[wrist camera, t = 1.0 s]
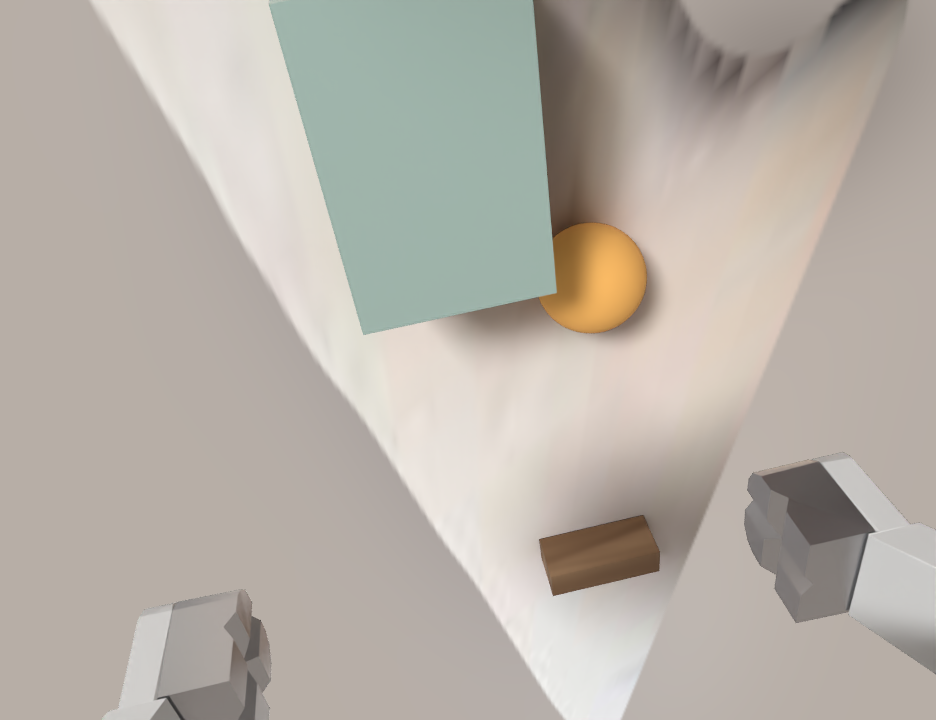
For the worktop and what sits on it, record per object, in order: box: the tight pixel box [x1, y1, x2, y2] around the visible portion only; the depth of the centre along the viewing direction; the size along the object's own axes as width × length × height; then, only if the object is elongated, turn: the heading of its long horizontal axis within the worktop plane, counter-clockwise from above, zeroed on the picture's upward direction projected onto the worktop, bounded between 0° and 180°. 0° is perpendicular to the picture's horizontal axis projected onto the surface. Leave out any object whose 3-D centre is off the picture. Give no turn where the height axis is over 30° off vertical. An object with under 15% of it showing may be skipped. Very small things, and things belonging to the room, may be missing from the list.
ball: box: [539, 223, 647, 333], centre depth 35 cm, size 5×5×5 cm
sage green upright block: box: [269, 0, 557, 335], centre depth 27 cm, size 11×7×9 cm, turn 8°
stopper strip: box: [539, 515, 660, 596], centre depth 50 cm, size 2×7×3 cm, turn 98°
